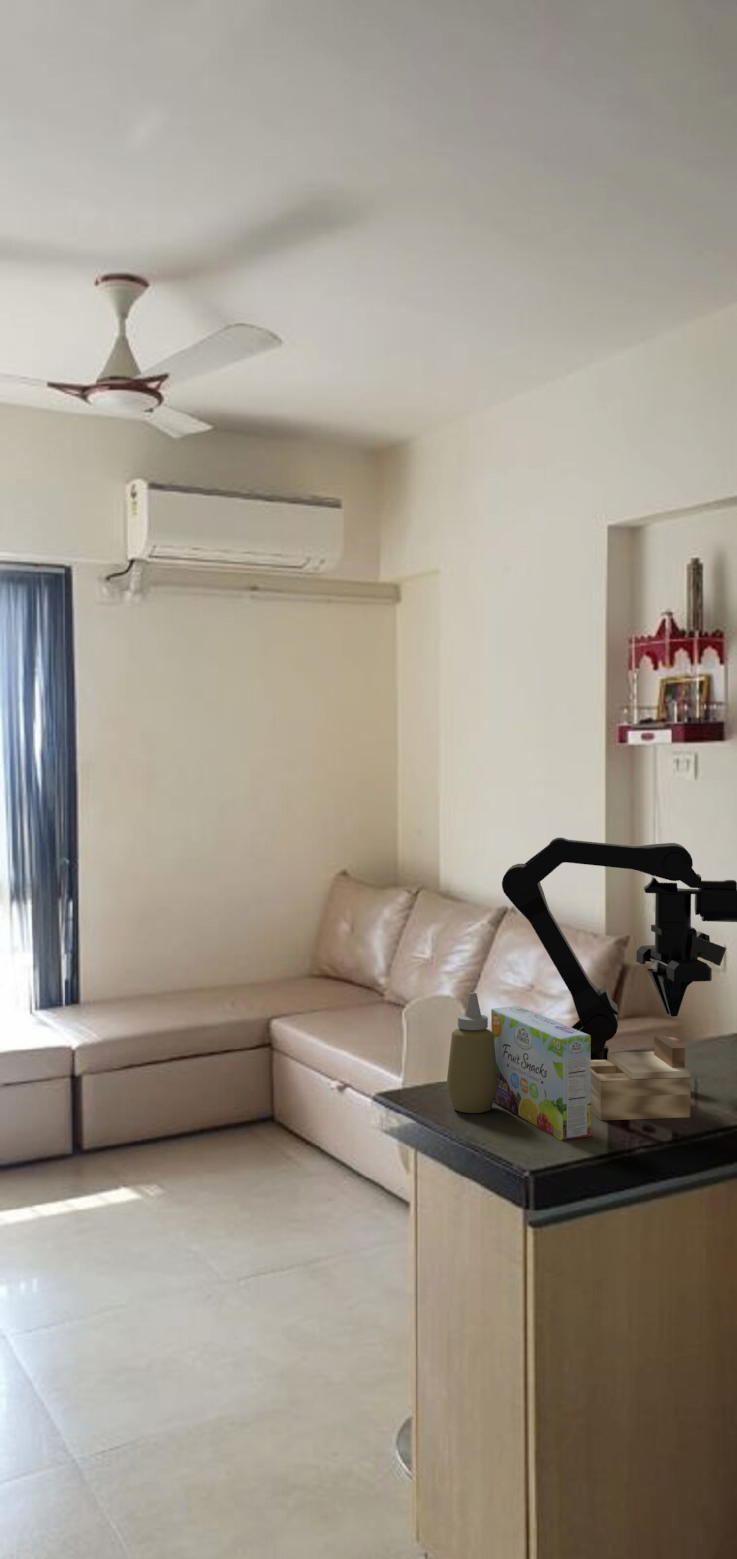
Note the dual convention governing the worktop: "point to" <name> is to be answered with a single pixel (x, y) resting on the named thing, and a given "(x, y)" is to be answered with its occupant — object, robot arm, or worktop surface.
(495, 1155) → the worktop surface
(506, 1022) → the snack box
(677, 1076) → the lid
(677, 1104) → the wooden box
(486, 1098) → the squeeze bottle
